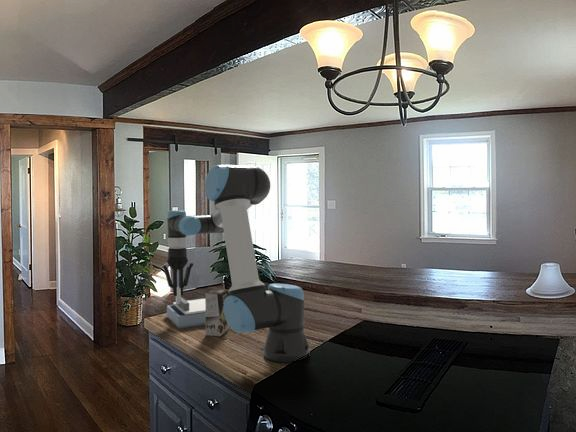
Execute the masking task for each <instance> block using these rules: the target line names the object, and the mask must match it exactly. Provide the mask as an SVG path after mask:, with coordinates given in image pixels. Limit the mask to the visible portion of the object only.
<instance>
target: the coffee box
mask: <svg viewBox="0 0 576 432" xmlns="http://www.w3.org/2000/svg"><path fill="white" fill-rule="evenodd" d="M228 290H229V288H228V289H227V288H226V289H225V288H218V289H217V288H215V289H211V290H210V291H207V292H206V293H205V298H204V299H205V304H206V325H205V335H206V336H212V337H221V336H222V335H224V334H225V333H227V331H228V330H229V328H230V326H229V325H228V323H227V321H226V318H225V315H224V310H223V306H224V300H225V299H226V298H227V297H228V296H229V293H228Z"/></svg>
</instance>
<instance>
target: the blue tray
mask: <svg viewBox="0 0 576 432" xmlns="http://www.w3.org/2000/svg"><path fill="white" fill-rule="evenodd" d="M167 317H168V318H169V319H170V320H171V323H172V324H173V325H174V326H175V327H176V328H177V329H179V330H180V329H181V330H182V329H186V328H187V329H188V328H192V327H193V328H194V327H200V326H206V312H202V313H195V314H187V315H185V314H184V313H183V312H182V311H180V310H179V309H178V308H177V307H176V306H175V305H173V304H170V305H166V318H167ZM168 318H167V319H168ZM169 319H168V320H169ZM170 320H169V321H170Z"/></svg>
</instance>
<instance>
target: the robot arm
mask: <svg viewBox="0 0 576 432" xmlns="http://www.w3.org/2000/svg"><path fill="white" fill-rule="evenodd" d="M270 191H271V180H270V178H269V175H268V174H267V172H266V171H265V170H263V169H262V168H260V167H258V166H256V165H237V164H226V163H225V164H215V165H213V166H212V167H211V168H210V169H209V171H208V173H207V175H206V178H205V184H204V193H205V196H206V198H207V199H208V200H209V201H211V202H213V203H214V208H215V209H216V211H214V212H213V213H212V214H209V215H208V214H207V215H187V212H186V211H185V210H169V211H168V212H167V217H166V220H167V247H168V249H167V260H166V263H165V264H162V265H161V268H162V269H163V270H164V273H165V278H166V281H167V285H168V287H169V288H172V292H173V293H172V294H173V296H174V297H175V302H176V304H181V297H182V296H183V295H184V288H185V287H187V286H188V284H189V279H190V274H191V269H192V267H194V263H193V262H190V261H189V260H188V259H189V258H188V253H187V244H188V243H187V236H189V237H190V236H195V235H204V234H222V233H223V235H224V243H225V248H226V254H227V256H226V257H227V259H228V260H227V261H228V267H229V272H230V273H229V274H230V280H231V286H230V287H229V288H228V297H227V298H226V299H225V300H224V306H223V310H224V315H225V318H226V321H227V323H228V325H229V328H231V330H232V331H233V332H235V333H237V334H245V333H246V334H247V333H253V332H255V331H259V330H265V329H268V333H267V336H266V339H265V343H264V346H263V357H264V358H265V359H267V360H269V361H272V362H273V361H274V362H276V363H278V362H279V363H293V362H292V361H295V360H297V359H299V358H301V357H303V356H305V355H307V354H308V353H309V354H310V345H309V343H308V339H307V337H306V333H305V326H304V325H305V324H304V323H305V318H304V317H305V315H304V313H305V312H304V311H305V296H304V290H303V288H302V287H301V286H298V285H294V284H289V283H270V284H268V287H267V289H268V290H267V289H266V285H265V283H263V281H261V280H260V279H259V278H260V277H259V270H258V266H257V259H256V254H255V249H254V242H253V238H252V237H253V236H252V230H251V226H250V219H249V215H248V213H249V212H248V210H249V209H250V208H251V207H252V206H255V205H256V206H257V205H259V204H260V203H262V202H263V201H264V200H265V199H266V198H267V197H268V195H269V193H270ZM185 266H186V269H185V273H184V268H185ZM169 267H170V268H171V270H172V271H171V273H172V279H171V275H170V270H169Z"/></svg>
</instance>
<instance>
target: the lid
mask: <svg viewBox="0 0 576 432" xmlns="http://www.w3.org/2000/svg"><path fill="white" fill-rule="evenodd" d="M172 305H175V306H176V307H177V308H178V309H179V310H180V311H182V312H183V313H184V314H185V315H187V314H195V313H202V312H206V304H205V298H198V299H197V298H196V299H191V300H186V299H185V298H183V297H182V296H181V304H176V301H175V302H172Z"/></svg>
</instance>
